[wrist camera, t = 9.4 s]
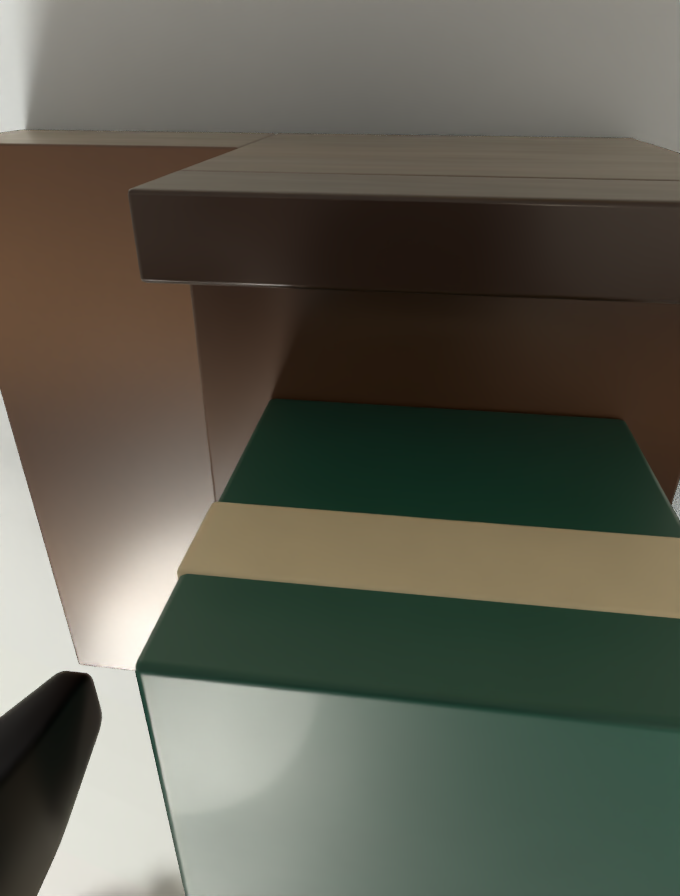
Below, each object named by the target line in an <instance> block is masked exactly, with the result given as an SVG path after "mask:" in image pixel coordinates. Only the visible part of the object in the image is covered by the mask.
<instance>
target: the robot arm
mask: <svg viewBox="0 0 680 896" xmlns="http://www.w3.org/2000/svg"><path fill="white" fill-rule="evenodd" d="M101 720H102V712H101V707H100V704H99V700H98V697H97V693H96V689H95V686H94V682H93V679H92V677H91V676H90V675H89V674H87V673H80V672H70V671H62V672H60V673H57V674H56V675H54V676H53V677H51V678H50V679H49V680H48V681H46V682H45V683H44V684H42V685H41V686H40V687H39V688H37V689H36V690H35V691H33V692H32V693H31V694H30V695H28V696H27V697H26V698H24V699H23V700H22V701H21V702H19V703H18V704H17V705H15V706H14V707H13V708H12V709H10V710H9V711H8V712H7V713H5V714H4V715H3V716H1V717H0V896H37V894H38V892H39V890H40V888H41V885H42V883H43V881H44V879H45V877H46V874H47V872H48V870H49V868H50V866H51V863H52V861H53V859H54V857H55V854H56V852H57V850H58V847H59V845H60V843H61V840H62V837H63V834H64V832H65V829H66V826H67V824H68V821H69V818H70V815H71V812H72V809H73V806H74V803H75V800H76V797H77V794H78V791H79V789H80V786H81V783H82V780H83V777H84V774H85V771H86V768H87V765H88V762H89V759H90V756H91V753H92V750H93V748H94V745H95V742H96V739H97V736H98V733H99V730H100V726H101Z"/></svg>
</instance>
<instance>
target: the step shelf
mask: <svg viewBox="0 0 680 896" xmlns="http://www.w3.org/2000/svg"><path fill="white" fill-rule="evenodd" d="M0 390H1V393H2V397H3V400H4V404H5V407H6V411H7V414H8V418H9V421H10V425H11V428H12V432H13V435H14V439H15V442H16V446H17V449H18V453H19V456H20V460H21V463H22V467H23V470H24V474H25V477H26V481H27V484H28V488H29V491H30V495H31V498H32V502H33V505H34V509H35V512H36V515H37V519H38V522H39V526H40V529H41V533H42V536H43V540H44V543H45V547H46V550H47V554H48V557H49V561H50V564H51V568H52V571H53V575H54V578H55V582H56V585H57V589H58V592H59V596H60V599H61V603H62V606H63V610H64V613H65V617H66V620H67V624H68V627H69V631H70V634H71V637H72V641H73V644H74V648H75V651H76V655H77V658H78V662H79V664H80V665H89V666H98V667H107V668H117V669H126V670H135V665H136V663H137V660H138V658H139V656H140V654H141V652H142V650H143V648H144V646H145V644H146V642H147V640H148V638H149V636H150V634H151V632H152V630H153V628H154V627H155V625H156V623H157V621H158V619H159V617H160V615H161V613H162V611H163V609H164V607H165V605H166V603H167V601H168V599H169V597H170V595H171V593H172V591H173V589H174V587H175V585H176V583H177V581H178V578H177V570H178V568H179V566H180V564H181V562H182V560H183V558H184V556H185V554H186V552H187V550H188V548H189V546H190V544H191V543H192V541H193V539H194V537H195V535H196V533H197V531H198V529H199V527H200V525H201V523H202V521H203V520H204V518H205V516H206V514H207V512H208V510H209V508H210V506H211V504H212V503H214V502H218V501H219V499H220V497H221V495H222V493H223V491H224V489H225V487H226V485H227V483H228V481H229V479H230V477H231V475H232V473H233V471H234V469H235V467H236V465H237V463H238V461H239V459H240V457H241V455H242V453H243V451H244V449H245V447H246V446H247V444H248V442H249V440H250V438H251V436H252V434H253V432H254V430H255V428H256V426H257V424H258V422H259V420H260V418H261V416H262V414H263V412H264V410H265V408H266V406H267V404H268V402H269V400H271V399H291V400H307V401H324V402H341V403H357V404H374V405H390V406H407V407H423V408H440V409H457V410H473V411H490V412H506V413H523V414H539V415H556V416H573V417H589V418H606V419H620V420H623V421H625V422H626V424H627V426H628V427H629V429H630V431H631V433H632V435H633V437H634V438H635V440H636V442H637V444H638V446H639V447H640V449H641V451H642V453H643V455H644V457H645V458H646V460H647V462H648V464H649V466H650V467H651V469H652V471H653V473H654V475H655V477H656V478H657V480H658V482H659V484H660V486H661V488H662V489H663V491H664V493H665V495H666V497H667V498H668V500H669V502H670V504H671V505H672V501H673V498H674V495H675V492H676V489H677V486H678V483H679V479H680V153H677V152H674V151H671V150H668V149H665V148H662V147H659V146H655V145H652V144H649V143H646V142H643V141H640V140H637V139H634V138H605V137H531V136H458V135H384V134H311V133H278V134H275V133H243V132H169V131H95V130H17V131H9V132H2V133H0Z"/></svg>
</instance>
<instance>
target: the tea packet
mask: <svg viewBox="0 0 680 896" xmlns="http://www.w3.org/2000/svg"><path fill="white" fill-rule="evenodd" d="M177 578H178V581H177V583H176V585H175V587H174V589H173V591H172V593H171V595H170V597H169V599H168V601H167V603H166V605H165V607H164V609H163V611H162V613H161V615H160V617H159V619H158V621H157V623H156V625H155V627H154V628H153V630H152V632H151V634H150V636H149V638H148V640H147V642H146V644H145V646H144V648H143V650H142V652H141V654H140V656H139V658H138V660H137V663H136V665H135V673H136V677H137V682H138V686H139V691H140V695H141V700H142V704H143V708H144V713H145V717H146V722H147V726H148V731H149V735H150V740H151V744H152V749H153V753H154V758H155V762H156V766H157V771H158V775H159V780H160V784H161V789H162V793H163V798H164V802H165V807H166V811H167V816H168V820H169V825H170V829H171V833H172V838H173V842H174V847H175V851H176V856H177V860H178V865H179V869H180V874H181V878H182V883H183V887H184V891H185V896H680V520H679V518H678V517H677V515H676V513H675V511H674V509H673V508H672V506H671V504H670V502H669V500H668V498H667V497H666V495H665V493H664V491H663V489H662V488H661V486H660V484H659V482H658V480H657V478H656V477H655V475H654V473H653V471H652V469H651V467H650V466H649V464H648V462H647V460H646V458H645V457H644V455H643V453H642V451H641V449H640V447H639V446H638V444H637V442H636V440H635V438H634V437H633V435H632V433H631V431H630V429H629V427H628V426H627V424H626V422H625V421H623V420H620V419H606V418H589V417H573V416H556V415H539V414H523V413H506V412H490V411H473V410H457V409H440V408H423V407H407V406H390V405H374V404H357V403H341V402H324V401H307V400H291V399H271V400H269V402H268V404H267V406H266V408H265V410H264V412H263V414H262V416H261V418H260V420H259V422H258V424H257V426H256V428H255V430H254V432H253V434H252V436H251V438H250V440H249V442H248V444H247V446H246V447H245V449H244V451H243V453H242V455H241V457H240V459H239V461H238V463H237V465H236V467H235V469H234V471H233V473H232V475H231V477H230V479H229V481H228V483H227V485H226V487H225V489H224V491H223V493H222V495H221V497H220V499H219V501H218V502H214V503H212V504H211V506H210V508H209V510H208V512H207V514H206V516H205V518H204V520H203V521H202V523H201V525H200V527H199V529H198V531H197V533H196V535H195V537H194V539H193V541H192V543H191V544H190V546H189V548H188V550H187V552H186V554H185V556H184V558H183V560H182V562H181V564H180V566H179V568H178V570H177Z"/></svg>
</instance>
